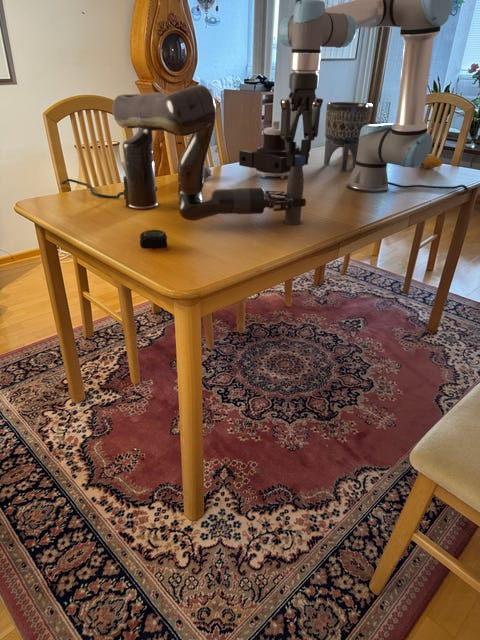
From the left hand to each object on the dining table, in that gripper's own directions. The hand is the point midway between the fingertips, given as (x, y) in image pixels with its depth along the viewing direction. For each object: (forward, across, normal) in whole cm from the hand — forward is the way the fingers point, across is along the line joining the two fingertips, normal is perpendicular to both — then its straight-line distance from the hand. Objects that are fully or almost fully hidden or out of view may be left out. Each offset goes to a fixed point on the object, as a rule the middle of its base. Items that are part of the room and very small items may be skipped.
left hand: (302, 199), depth 136 cm
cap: (-3, 0, -12) cm, 12 cm away
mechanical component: (+9, +66, +7) cm, 67 cm away
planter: (+41, +77, +7) cm, 87 cm away
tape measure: (-44, -18, +7) cm, 48 cm away
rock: (-28, +57, +7) cm, 64 cm away
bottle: (-3, 0, +7) cm, 7 cm away
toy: (+82, +74, +7) cm, 111 cm away
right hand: (-3, 0, -10) cm, 11 cm away
